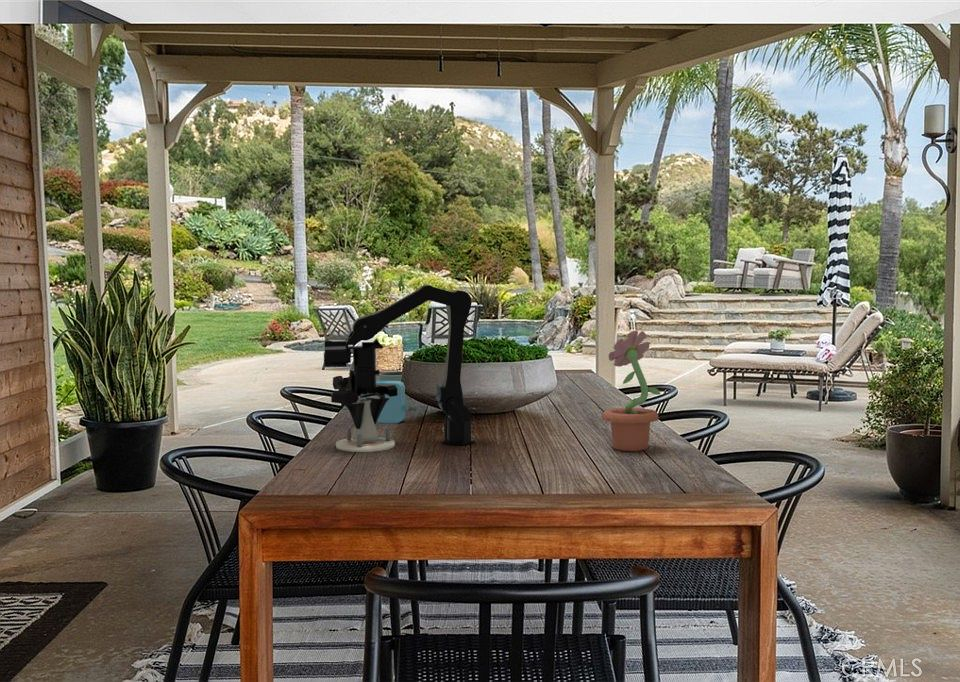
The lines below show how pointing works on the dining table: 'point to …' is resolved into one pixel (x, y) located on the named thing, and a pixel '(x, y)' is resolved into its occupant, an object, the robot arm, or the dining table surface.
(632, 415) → the decorative flower
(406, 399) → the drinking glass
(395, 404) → the blue rounded slab
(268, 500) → the dining table surface
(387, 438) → the pin cradle
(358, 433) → the flask
